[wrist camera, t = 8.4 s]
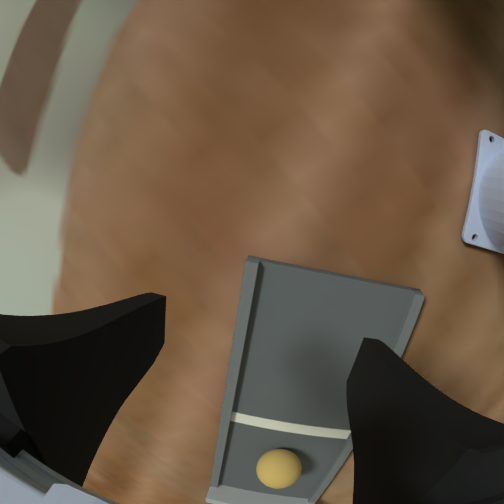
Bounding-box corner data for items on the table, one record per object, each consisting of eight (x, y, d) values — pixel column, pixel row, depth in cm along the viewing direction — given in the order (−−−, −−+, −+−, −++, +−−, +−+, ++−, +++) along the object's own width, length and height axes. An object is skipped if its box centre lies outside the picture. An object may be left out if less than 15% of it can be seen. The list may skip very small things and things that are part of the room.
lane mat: (419, 289, 19) (435, 307, 16) (312, 499, 27) (311, 518, 24) (248, 255, 20) (240, 270, 17) (211, 482, 28) (205, 502, 25)
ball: (302, 439, 23) (300, 474, 19) (302, 463, 24) (300, 495, 20) (257, 440, 24) (250, 473, 20) (261, 463, 25) (255, 495, 21)
